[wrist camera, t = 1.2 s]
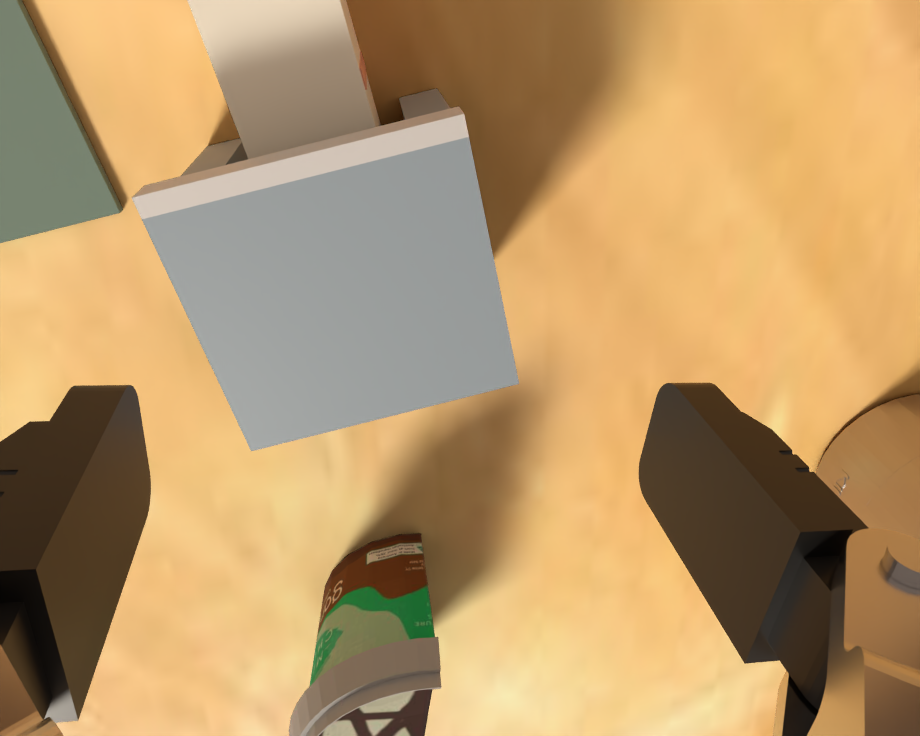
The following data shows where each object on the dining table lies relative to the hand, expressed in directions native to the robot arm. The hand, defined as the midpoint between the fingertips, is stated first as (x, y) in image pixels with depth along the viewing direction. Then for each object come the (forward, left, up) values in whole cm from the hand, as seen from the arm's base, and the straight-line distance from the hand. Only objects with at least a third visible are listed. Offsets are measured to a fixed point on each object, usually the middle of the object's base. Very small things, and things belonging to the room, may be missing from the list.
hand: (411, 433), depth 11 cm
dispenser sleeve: (+2, +2, -19) cm, 19 cm away
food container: (+8, +23, -19) cm, 31 cm away
